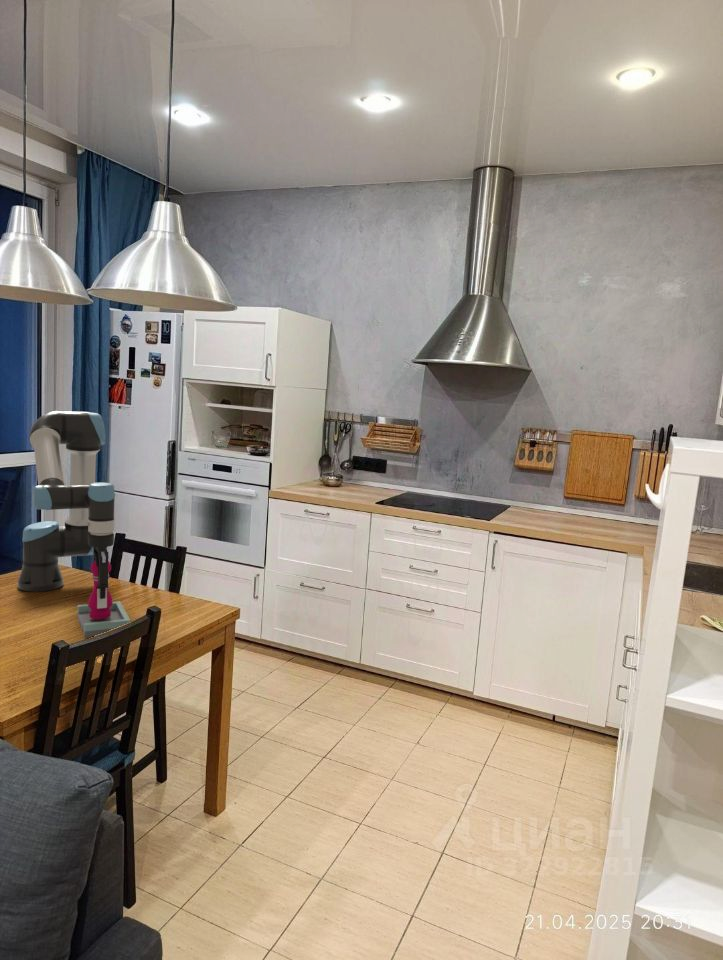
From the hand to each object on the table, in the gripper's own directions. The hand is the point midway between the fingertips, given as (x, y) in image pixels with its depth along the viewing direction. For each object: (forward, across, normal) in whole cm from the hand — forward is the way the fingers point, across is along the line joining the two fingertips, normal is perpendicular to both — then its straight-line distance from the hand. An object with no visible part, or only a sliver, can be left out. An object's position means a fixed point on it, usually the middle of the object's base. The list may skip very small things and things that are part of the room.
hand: (100, 603), depth 207 cm
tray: (+7, 0, +1) cm, 7 cm away
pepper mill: (+4, 0, 0) cm, 4 cm away
